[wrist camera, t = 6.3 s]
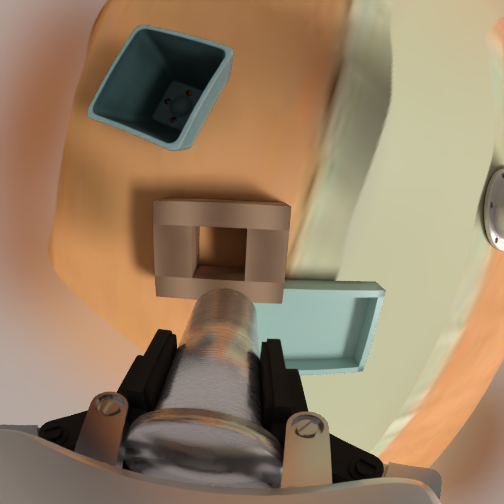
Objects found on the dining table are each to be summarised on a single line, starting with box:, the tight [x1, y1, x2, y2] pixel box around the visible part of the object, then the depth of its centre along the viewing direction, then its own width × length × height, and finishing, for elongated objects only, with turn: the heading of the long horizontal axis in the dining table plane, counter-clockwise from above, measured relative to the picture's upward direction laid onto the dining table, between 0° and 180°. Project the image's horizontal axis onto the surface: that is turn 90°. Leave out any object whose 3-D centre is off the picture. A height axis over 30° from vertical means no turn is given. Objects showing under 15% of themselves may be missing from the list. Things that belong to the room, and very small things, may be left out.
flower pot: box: [87, 25, 233, 151], centre depth 20 cm, size 9×9×9 cm
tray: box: [253, 279, 386, 375], centre depth 29 cm, size 15×11×3 cm
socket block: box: [153, 198, 291, 304], centre depth 26 cm, size 12×9×4 cm
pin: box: [124, 288, 282, 488], centre depth 10 cm, size 5×5×10 cm
